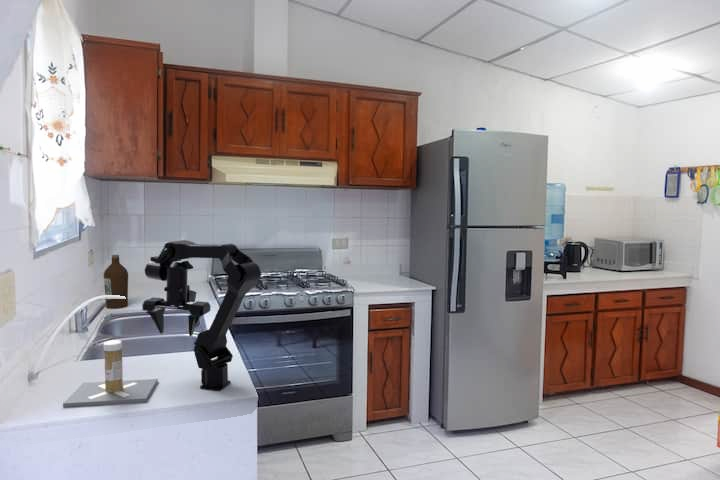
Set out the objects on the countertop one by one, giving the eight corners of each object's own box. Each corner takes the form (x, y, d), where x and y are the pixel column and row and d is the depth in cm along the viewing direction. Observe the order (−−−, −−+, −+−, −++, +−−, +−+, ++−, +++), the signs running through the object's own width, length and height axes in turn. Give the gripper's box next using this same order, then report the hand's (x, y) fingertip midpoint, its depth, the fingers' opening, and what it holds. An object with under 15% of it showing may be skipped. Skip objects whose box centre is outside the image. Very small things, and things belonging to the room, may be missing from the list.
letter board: (157, 382, 143) (157, 378, 143) (146, 402, 129) (145, 398, 129) (83, 386, 139) (83, 382, 139) (63, 407, 126) (62, 403, 126)
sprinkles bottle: (102, 390, 134) (100, 342, 133) (118, 385, 138) (117, 338, 137) (109, 394, 131) (107, 345, 130) (126, 389, 135) (125, 341, 134)
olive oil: (123, 303, 245) (122, 253, 242) (132, 306, 237) (131, 255, 235) (101, 306, 237) (99, 255, 235) (109, 310, 230) (107, 257, 227)
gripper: (218, 280, 151) (217, 329, 153) (161, 275, 154) (161, 324, 155) (202, 287, 140) (201, 340, 142) (141, 282, 143) (141, 334, 144)
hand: (176, 334), depth 146 cm, fingers open, 9 cm apart
